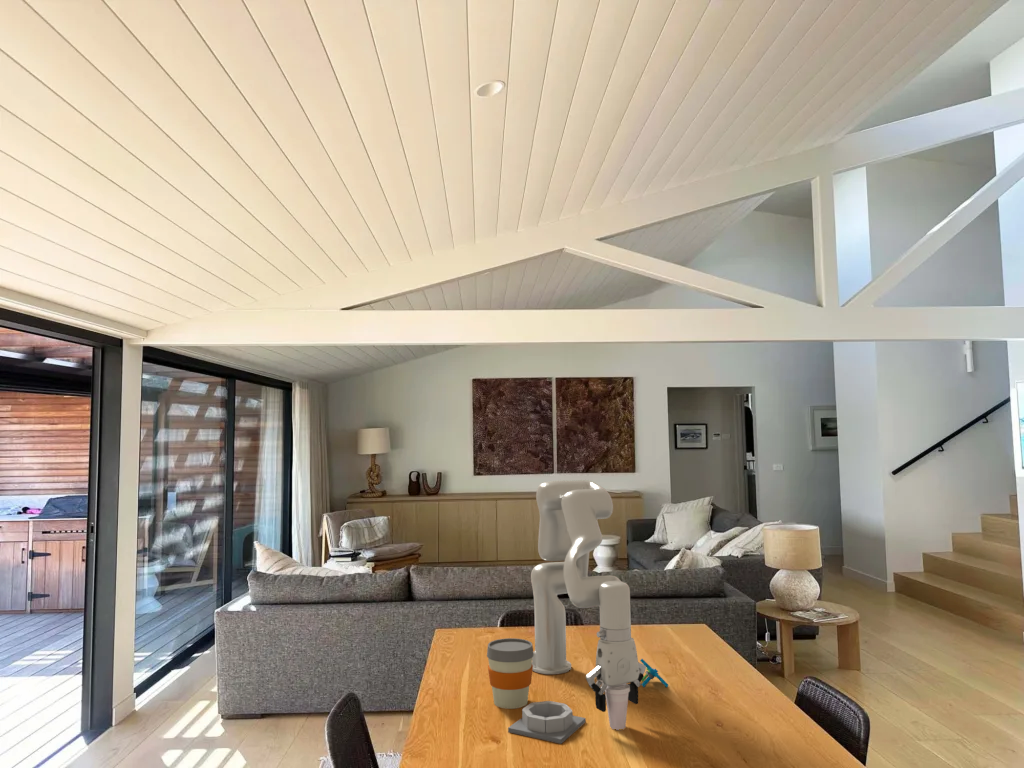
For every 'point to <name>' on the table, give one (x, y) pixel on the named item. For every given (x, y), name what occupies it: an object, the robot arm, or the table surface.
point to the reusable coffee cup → (510, 671)
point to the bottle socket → (547, 721)
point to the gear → (651, 675)
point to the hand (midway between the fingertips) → (617, 706)
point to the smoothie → (617, 705)
